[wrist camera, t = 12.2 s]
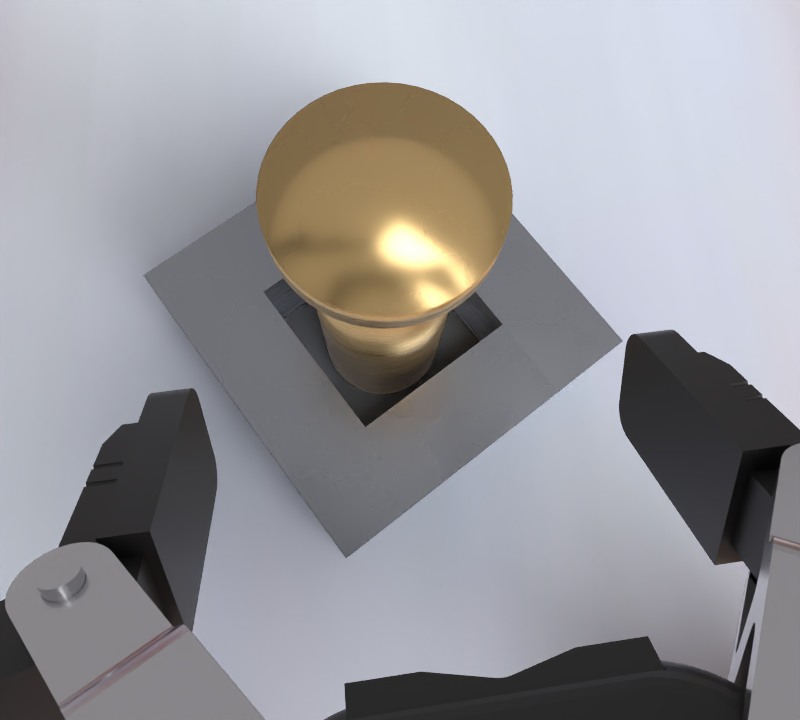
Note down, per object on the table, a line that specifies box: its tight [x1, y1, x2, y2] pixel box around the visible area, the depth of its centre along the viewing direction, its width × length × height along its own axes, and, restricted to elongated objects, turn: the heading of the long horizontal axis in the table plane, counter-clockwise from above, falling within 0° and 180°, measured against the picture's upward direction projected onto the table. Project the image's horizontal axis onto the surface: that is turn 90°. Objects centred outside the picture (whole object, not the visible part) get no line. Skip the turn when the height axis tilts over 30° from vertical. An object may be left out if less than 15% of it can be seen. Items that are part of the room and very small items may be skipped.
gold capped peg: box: [256, 82, 513, 394], centre depth 21 cm, size 6×6×12 cm
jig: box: [143, 202, 622, 558], centre depth 25 cm, size 12×12×4 cm
